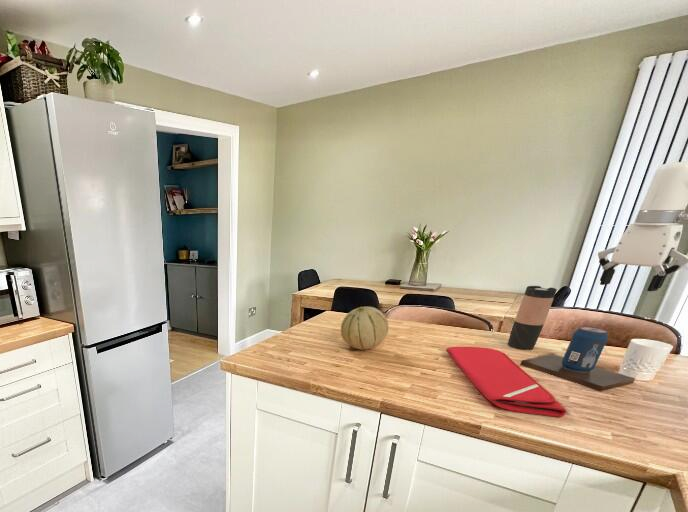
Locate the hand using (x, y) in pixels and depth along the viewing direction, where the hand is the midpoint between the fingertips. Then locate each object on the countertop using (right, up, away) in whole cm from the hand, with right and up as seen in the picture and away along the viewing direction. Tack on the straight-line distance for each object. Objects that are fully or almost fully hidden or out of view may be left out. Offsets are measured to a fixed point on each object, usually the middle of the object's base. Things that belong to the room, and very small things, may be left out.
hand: (627, 287), depth 106 cm
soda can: (-5, -22, +9) cm, 24 cm away
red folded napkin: (-30, -25, +7) cm, 40 cm away
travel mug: (-2, -13, +31) cm, 33 cm away
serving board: (-5, -23, +10) cm, 25 cm away
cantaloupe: (-56, -14, +32) cm, 67 cm away
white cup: (+10, -24, +7) cm, 27 cm away
